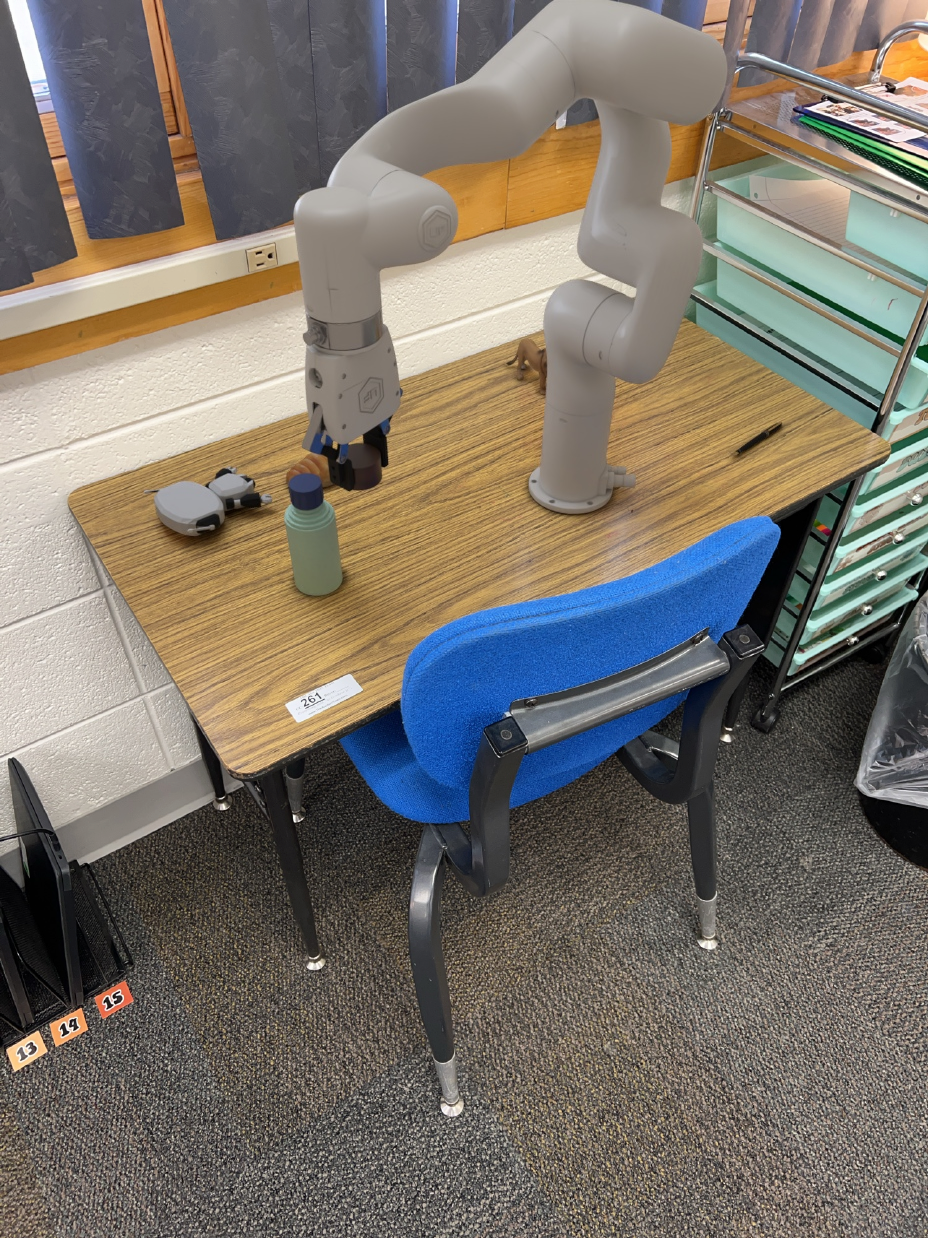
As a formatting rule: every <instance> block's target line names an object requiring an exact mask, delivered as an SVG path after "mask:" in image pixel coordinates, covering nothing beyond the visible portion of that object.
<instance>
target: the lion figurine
mask: <svg viewBox="0 0 928 1238" xmlns="http://www.w3.org/2000/svg"><path fill="white" fill-rule="evenodd" d="M516 361H517V366H516V380H518V381H521V380H523V379H524V375H523V373H522V369H523V370H525V369H527V368H528V366H527V364H526V363H525V362H526V361H527V362H528V365H529V366H530V367H531V369H533V370H534V371H536V372H538V375H539V376H538V377H539V394H540V395H546V384H547V353H546V347H544V348H542V349H541V348H540V347H539V346H537V344H536V342H535V341H534V340H533V339H531V338H523V339H521V340H520V341H519V344H518V346H517V350H516V353H515V356H514V358H513V359H512V360H509V361H507V362H506V363H505V364H506V365H507V366H512V365H514V363H515V362H516Z"/></svg>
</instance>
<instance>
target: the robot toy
mask: <svg viewBox="0 0 928 1238" xmlns="http://www.w3.org/2000/svg"><path fill="white" fill-rule="evenodd" d="M237 472H238V469H237V467H233V466H227V467H222V468H220V470H218V471H217V472H216V473H215V476H214V480H212V481H209V482H207V483H206V484H205V485H203V484H200V483H198V482H195V481H189V480H181V481H178V482H175V483H173V484H170V485H167V486H165V487H162V488H158V489H157V488H156V489H151V490H149V489H147V490H144V491H143V492H142V493H143V494H145V495H149V494H152V493H155V494H154V498H153V501H154V506H155V512H156V515H157V517H158V518H159V520H160V521H161V523H162V524H163V525H164V526H166V527H168V528H169V529H171V530H172V531H175V532H176V533H179V534H181V535H184V536H193V537H198V536H201V535H203V534H206V533H209V532H211V531H214V530H216V529H217V528H220V527H221V526H222V524H223V523H224V521H225V512H228V511H231V510H235V509H236V510H238V509H242V508H246V509H258V508H262V504H264V505H269V504H272V502H273V497H272V495H271V494H270V493H264V494H262V495H260V492H255V487H256V485H257V484H256V481H255V480H254V478H252V477H248V475H247V474H244V473H239V474H238V473H237Z"/></svg>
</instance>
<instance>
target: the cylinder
mask: <svg viewBox="0 0 928 1238" xmlns="http://www.w3.org/2000/svg"><path fill="white" fill-rule="evenodd" d="M347 458H348V459H350V460H351V461H352V469H353V478H354V489H353V490H352V491H357V492H359V491H367V490H371V489H373V488H375V487H376V486H378V485H379V484H380V483H381V482H382V479H383V467H382V466H381V454H380V451H379V450H378V449H377V448H376V447H374V446H372V445H370V444H366V443H363V442H355V443H350V444H349V445H348V454H347Z"/></svg>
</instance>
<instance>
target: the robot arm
mask: <svg viewBox="0 0 928 1238" xmlns="http://www.w3.org/2000/svg"><path fill="white" fill-rule="evenodd" d="M727 77H728V61H727V56H726V52H725V50H724V47H723V46H722V44H721V42H720V41H718V39H717V38H716V37H714V36H713V35H711V34H710V33H707V32H704V31H702V30H699V29H696V28H694V27H691V26H688V25H686V24H684V23H681V22H679V21H676V20H674V19H672V18H670V17H667V16H665V15H662V14H660V13H657V12H655V11H653V10H651V9H648V8H645V7H642V6H638V5H634V4H630V3H626V2H621V1H615V0H551V1H549V3H548V4H546V5H545V6H544V7H543V8H542V9H541V10H540V11H538V13H537V14H536V15H535V16H534V17H532V19H531V20H529V22H528V23H526V24H525V25H524V26H523V27H522V28H521V29H520V30H519V31H518V32H517V33H516V34H515V35H514V36H513V37H512V38H511V39H510V40H509V41H508V42H507V43H506V44H504V46H503V47H502V48H500V49H499V50H498V51H497V52H496V53H495V54H494V55H493V56H492V57H491V58H490V59H489V60H488V61H487V62H486V63H485V64H484V65H483V66H482V67H481V68H480V69H479V70H478V71H477V72H476V73H474V74H473V75H472V76H471V77H469V78H468V79H467V80H465V81H463V82H462V81H461V82H460V83H457V84H454V85H451V86H449V87H446V88H443V89H441V90H438V91H436V92H434V93H431V94H429V95H427V96H425V97H422V98H420V99H417V100H414V101H412V102H410V103H408V104H405V105H403V106H402V107H399V108H397V109H395V110H393V111H391V112H390V113H388V114H387V115H385V116H384V117H383V118H381V119H380V120H379V121H378V122H376V123H375V124H374V125H372V127H370V128H369V129H368V130H367V131H366V132H365V133H364V134H363V135H361V137H359V138H358V140H357V141H355V142H354V143H353V145H351V147H350V148H348V149H347V151H346V152H345V153H344V154H343V155H342V156H341V157H340V159H339V160H338V161H337V163H336V164H335V165H334V167H333V169H332V171H331V173H330V175H329V178H328V180H327V183H326V186H325V187H320V188H316V189H313V190H309V191H307V192H305V193H303V194H302V195H301V196H300V197H299V198H298V199H297V200H296V202H295V204H294V207H293V213H292V215H293V227H294V235H295V243H296V249H297V250H296V251H297V257H298V258H297V259H298V264H299V266H298V267H299V273H300V282H301V290H302V295H303V304H304V313H305V319H306V328H307V330H306V331H305V332H303V333H302V340H303V342H304V343H305V344H306V345H305V346H306V347H305V357H304V358H305V360H304V388H305V401H306V411H307V417H308V422H309V425H308V427H307V430H306V431H305V435H304V437H303V440H302V441H301V448H302V449H303V450H305V451H307V452H309V453H315V454H318V455H323V456H325V457H327V460H328V468H329V476H330V481H331V482H332V483H333V485H335V486H338V487H339V488H340V489H342V490H344V491H346V492H349V493H350V492H352V491H354V490H353V489H354V478H353V469H352V461H351V460H350V459H348V458H347V454H348V445H350V444H349V443H351V442H354V441H355V440H356V439H358V438H360V437H361V436H362V443H366V444H370V445H372V446H374V447H376V448H377V449H378V450H379V451H380V454H381V466H382V468H386V467H388V466H389V465H390V463H389V462H390V461H389V451H388V450H389V449H388V437H387V436H388V435H389V434H390V432H391V430H392V427H391V424H390V423H391V421H392V419H393V416H394V415H395V414H396V413H397V412H398V410H399V409H400V407H401V399H402V396H403V394H404V390H403V388H402V387H401V384H400V383H401V382H400V376H399V375H400V374H399V368H398V362H397V356H396V352H395V346H394V342H393V339H392V335H391V333H390V330H389V328H388V326H387V325H386V324H385V323H384V317H383V304H382V290H381V289H382V287H381V274H380V273H381V272H382V270H384V269H390V268H396V267H403V266H404V267H405V266H411V265H418V264H422V263H425V262H428V261H431V260H433V259H435V258H437V257H439V256H440V255H441V254H443V253H444V252H445V251H446V250H447V249H448V248H449V247H450V246H451V244H452V242H453V241H454V239H455V237H456V234H457V232H458V227H459V211H458V207H457V205H456V202H455V200H454V198H453V197H452V196H451V194H450V193H449V191H447V190H446V189H445V188H443V187H442V186H441V185H439V184H438V183H436V182H434V181H432V180H430V179H428V178H425V177H423V176H424V175H427V174H429V173H431V172H434V171H437V170H441V169H443V168H447V167H448V168H449V167H453V166H460V165H461V166H462V165H475V164H488V163H495V162H502V161H506V160H511V159H514V158H517V157H520V156H522V155H523V154H525V153H526V152H527V151H528V150H529V149H530V148H531V147H532V146H533V145H534V144H535V143H536V142H537V141H538V140H539V139H540V138H541V136H543V135H544V134H545V133H546V131H547V130H548V129H549V128H550V127H551V126H552V125H554V124H555V122H556V121H558V119H559V118H561V117H562V116H563V115H564V114H565V112H567V111H568V110H569V109H570V108H571V107H572V106H573V105H575V103H576V102H578V101H579V100H582V99H588V100H589V99H590V100H592V101H593V102H594V105H595V108H596V112H597V115H598V119H599V124H600V135H601V139H600V149H599V152H598V153H599V154H598V159H597V163H596V167H595V170H594V175H593V178H592V182H591V185H590V188H589V189H590V190H589V192H588V196H587V200H586V204H585V207H584V211H583V215H582V218H581V222H580V226H579V229H578V235H577V241H576V253H577V255H578V258H579V259H580V261H581V262H582V263H583V264H584V265H585V266H586V267H588V268H589V269H591V270H592V271H595V272H597V273H599V274H601V275H603V276H606V277H608V278H610V279H612V280H615V281H618V282H620V283H622V284H625V285H627V286H629V287H632V288H635V289H636V290H635V298H634V297H632V296H629V295H627V294H625V293H623V292H621V291H619V290H616V289H614V288H612V287H609V286H607V285H604V284H601V283H599V282H596V281H593V280H590V279H589V280H588V279H581V278H580V279H579V278H578V279H577V278H576V279H571V280H568V281H565V282H563V283H561V284H560V285H558V287H556V288H555V289H554V291H552V293H551V295H550V296H549V297H548V299H547V302H546V303H545V304H546V305H545V308H544V312H543V320H542V325H543V329H542V330H543V337H544V345H545V348H546V353H547V378H546V385H545V387H546V394H545V396H544V397H545V399H544V409H543V410H544V412H543V413H544V414H543V425H542V426H543V427H542V439H541V452H540V465H539V466H538V467H536V468H535V469H534V470H533V471H532V472H531V474H530V476H529V477H528V487H527V488H528V492H529V494H530V496H531V498H532V499H533V500H534V502H536V503H537V504H539V505H540V506H542V507H544V508H546V509H547V510H551V511H553V512H555V513H561V514H569V515H581V514H587V513H591V512H594V511H596V510H597V511H598V509H601V508H602V507H604V506H605V505H607V503H608V502H609V501H610V500H611V498H612V496H613V492H614V491H613V490H614V487H616V488H627V489H628V488H629V489H635V487H636V484H637V483H636V482H637V475H636V474H627V466H621V465H620V466H619V465H618V466H612V465H611V464H608V450H609V449H608V448H609V442H610V433H611V426H612V420H613V419H612V418H613V411H614V404H615V401H616V400H615V399H616V388H617V385H616V379H618V380H620V381H622V382H625V383H628V384H632V385H643V384H646V383H649V382H650V381H652V380H653V379H654V378H655V377H657V376H658V375H659V374H660V373H661V371H662V369H663V368H664V366H665V365H666V363H667V361H668V359H669V357H670V355H671V352H672V350H673V347H674V345H675V341H676V339H677V336H678V333H679V331H680V328H681V325H682V323H683V318H684V316H685V313H686V310H687V308H688V305H689V301H690V299H691V295H692V293H693V291H694V287H695V284H696V281H697V279H698V275H699V272H700V269H701V266H702V261H703V256H704V237H703V234H702V230H701V228H700V226H699V224H698V223H697V222H696V221H695V220H694V219H693V218H691V217H690V216H689V215H687V214H685V213H683V212H680V211H678V210H675V209H672V208H669V207H666V206H664V205H662V196H663V192H664V188H665V185H666V181H667V178H668V174H669V171H670V167H671V163H672V156H673V141H672V134H671V129H670V125H669V124H673V125H677V126H682V127H688V126H692V125H695V124H697V123H699V122H701V121H703V120H704V119H705V118H707V117H708V116H709V115H710V114H711V113H712V112H713V110H714V109H715V108H716V107H717V105H718V104H719V101H720V100H721V99H722V96H723V94H724V91H725V88H726V83H727ZM334 442H335V443H337V444H336V447H334ZM335 448H336V449H335Z"/></svg>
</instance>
